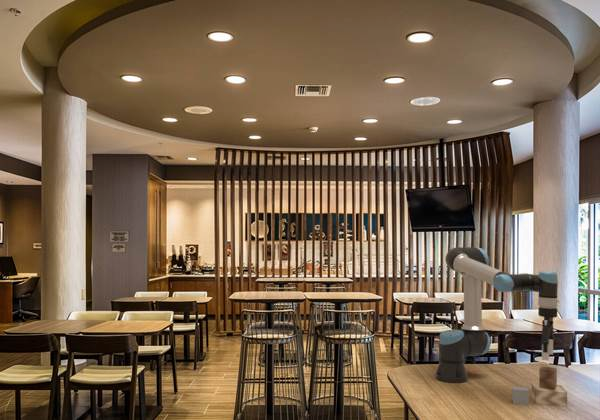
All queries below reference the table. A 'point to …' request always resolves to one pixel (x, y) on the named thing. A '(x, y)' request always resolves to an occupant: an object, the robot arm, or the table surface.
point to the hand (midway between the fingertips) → (547, 357)
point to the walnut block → (548, 378)
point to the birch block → (549, 395)
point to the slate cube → (520, 395)
